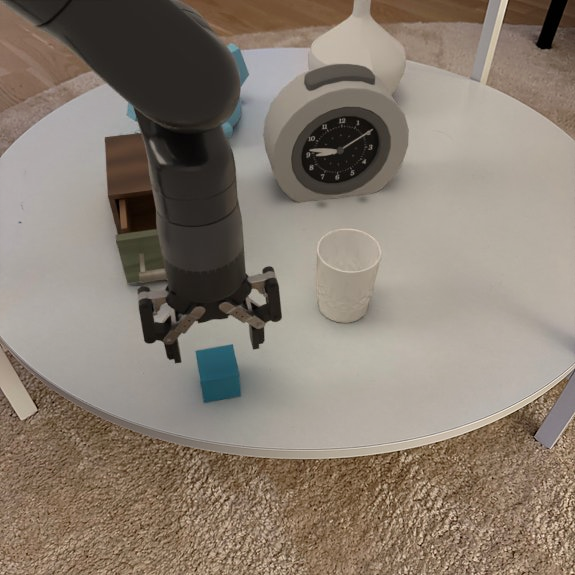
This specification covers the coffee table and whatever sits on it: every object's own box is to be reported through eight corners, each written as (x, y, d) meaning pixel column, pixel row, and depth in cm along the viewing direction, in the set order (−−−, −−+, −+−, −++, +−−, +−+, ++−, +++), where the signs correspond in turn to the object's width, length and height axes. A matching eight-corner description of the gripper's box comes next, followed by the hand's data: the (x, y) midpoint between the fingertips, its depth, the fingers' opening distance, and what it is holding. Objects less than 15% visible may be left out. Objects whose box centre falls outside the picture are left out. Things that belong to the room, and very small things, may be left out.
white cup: (381, 297, 81) (392, 242, 74) (356, 336, 77) (364, 281, 69) (330, 275, 84) (335, 220, 77) (302, 311, 79) (305, 257, 72)
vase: (419, 99, 118) (437, -3, 104) (356, 133, 109) (367, 28, 95) (350, 66, 127) (358, -31, 113) (287, 96, 118) (288, -6, 104)
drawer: (216, 296, 80) (211, 253, 74) (129, 310, 78) (117, 267, 72) (198, 210, 92) (192, 167, 87) (122, 220, 90) (112, 178, 85)
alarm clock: (272, 205, 95) (271, 89, 80) (263, 177, 100) (261, 63, 85) (400, 189, 98) (421, 74, 84) (385, 163, 103) (403, 50, 89)
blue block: (203, 403, 70) (200, 381, 66) (198, 372, 72) (195, 350, 69) (241, 396, 70) (239, 374, 67) (234, 366, 73) (232, 343, 70)
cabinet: (207, 235, 90) (201, 183, 83) (121, 248, 88) (107, 195, 81) (194, 178, 99) (188, 127, 92) (117, 188, 97) (104, 136, 90)
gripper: (123, 281, 51) (154, 390, 63) (287, 255, 53) (287, 365, 65) (120, 225, 56) (148, 335, 68) (270, 203, 58) (272, 314, 70)
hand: (216, 350), depth 66 cm, fingers open, 8 cm apart
